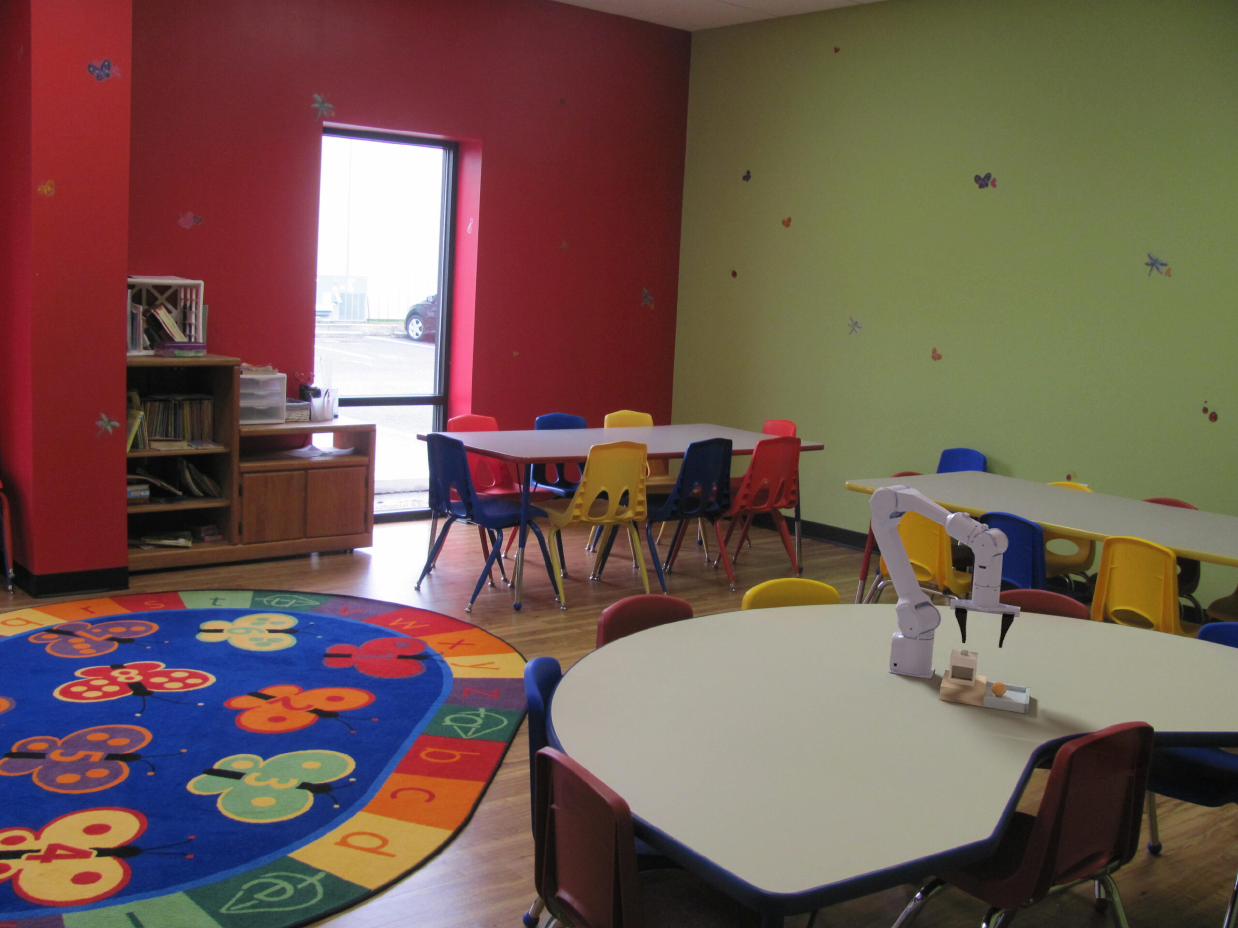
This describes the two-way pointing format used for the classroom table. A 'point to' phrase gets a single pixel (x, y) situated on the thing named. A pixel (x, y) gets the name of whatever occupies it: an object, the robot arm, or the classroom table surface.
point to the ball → (998, 688)
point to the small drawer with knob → (963, 667)
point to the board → (963, 690)
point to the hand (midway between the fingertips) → (982, 644)
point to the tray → (1008, 698)
